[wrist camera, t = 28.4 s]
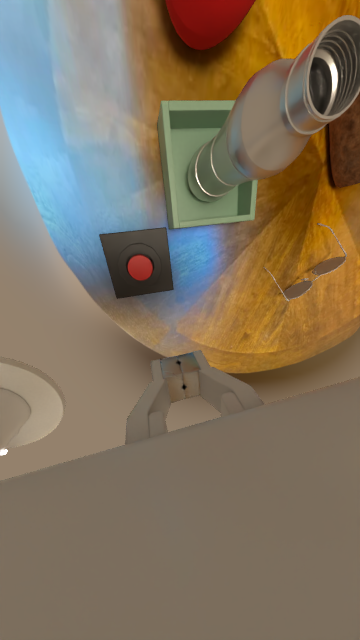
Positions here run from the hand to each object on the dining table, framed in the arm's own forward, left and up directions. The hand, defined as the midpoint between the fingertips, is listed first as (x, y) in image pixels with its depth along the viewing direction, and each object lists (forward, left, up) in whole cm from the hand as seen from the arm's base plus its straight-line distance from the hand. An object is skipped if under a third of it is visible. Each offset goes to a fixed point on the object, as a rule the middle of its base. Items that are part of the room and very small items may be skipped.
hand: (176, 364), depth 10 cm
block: (-1, +3, -25) cm, 25 cm away
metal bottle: (+11, +14, -24) cm, 29 cm away
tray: (+11, +14, -25) cm, 30 cm away
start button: (-1, +3, -21) cm, 21 cm away
